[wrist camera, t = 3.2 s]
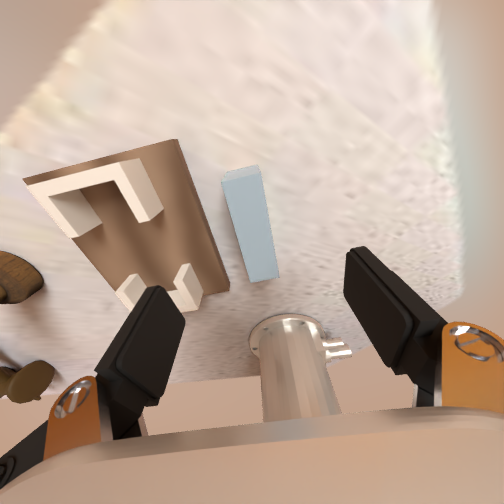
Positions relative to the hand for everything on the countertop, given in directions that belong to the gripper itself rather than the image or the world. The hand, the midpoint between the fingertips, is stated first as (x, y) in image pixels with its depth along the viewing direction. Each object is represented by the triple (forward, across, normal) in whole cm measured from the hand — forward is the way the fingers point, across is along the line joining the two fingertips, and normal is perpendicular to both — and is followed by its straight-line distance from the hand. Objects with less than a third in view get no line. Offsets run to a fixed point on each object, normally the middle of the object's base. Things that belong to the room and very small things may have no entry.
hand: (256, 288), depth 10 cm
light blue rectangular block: (+12, 0, +1) cm, 12 cm away
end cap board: (+12, +12, +1) cm, 17 cm away
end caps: (+11, +12, +1) cm, 16 cm away
